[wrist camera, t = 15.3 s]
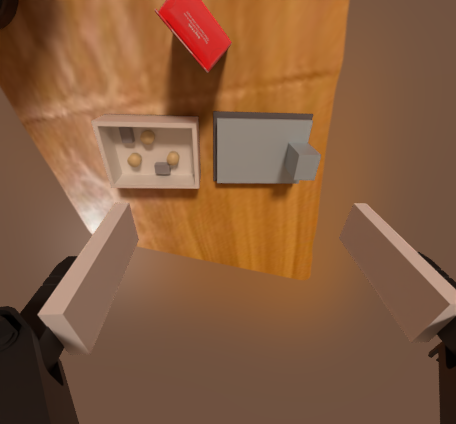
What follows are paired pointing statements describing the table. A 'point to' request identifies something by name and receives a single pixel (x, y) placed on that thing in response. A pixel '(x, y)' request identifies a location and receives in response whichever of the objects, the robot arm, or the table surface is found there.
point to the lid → (265, 151)
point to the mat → (251, 116)
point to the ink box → (196, 30)
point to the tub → (149, 150)
